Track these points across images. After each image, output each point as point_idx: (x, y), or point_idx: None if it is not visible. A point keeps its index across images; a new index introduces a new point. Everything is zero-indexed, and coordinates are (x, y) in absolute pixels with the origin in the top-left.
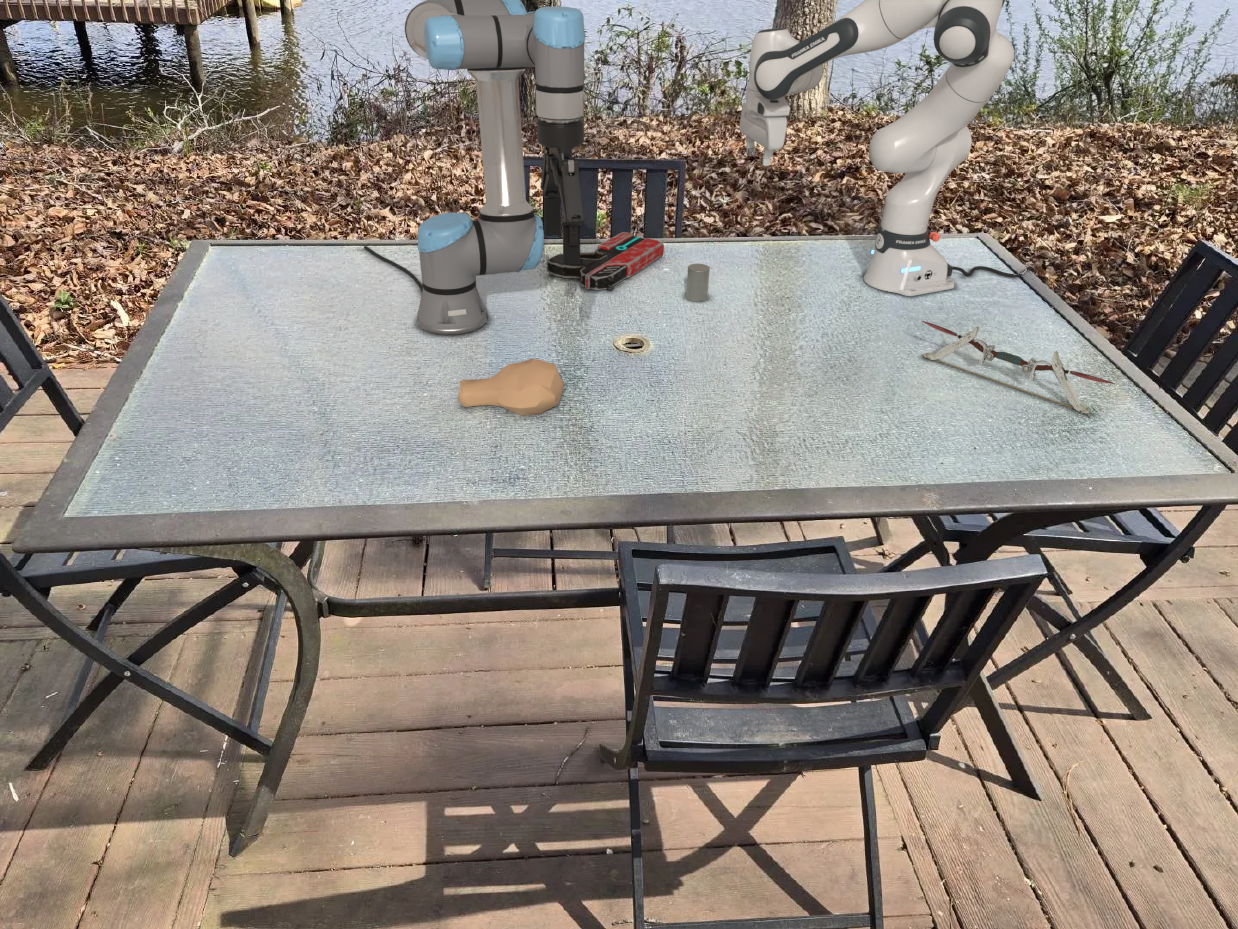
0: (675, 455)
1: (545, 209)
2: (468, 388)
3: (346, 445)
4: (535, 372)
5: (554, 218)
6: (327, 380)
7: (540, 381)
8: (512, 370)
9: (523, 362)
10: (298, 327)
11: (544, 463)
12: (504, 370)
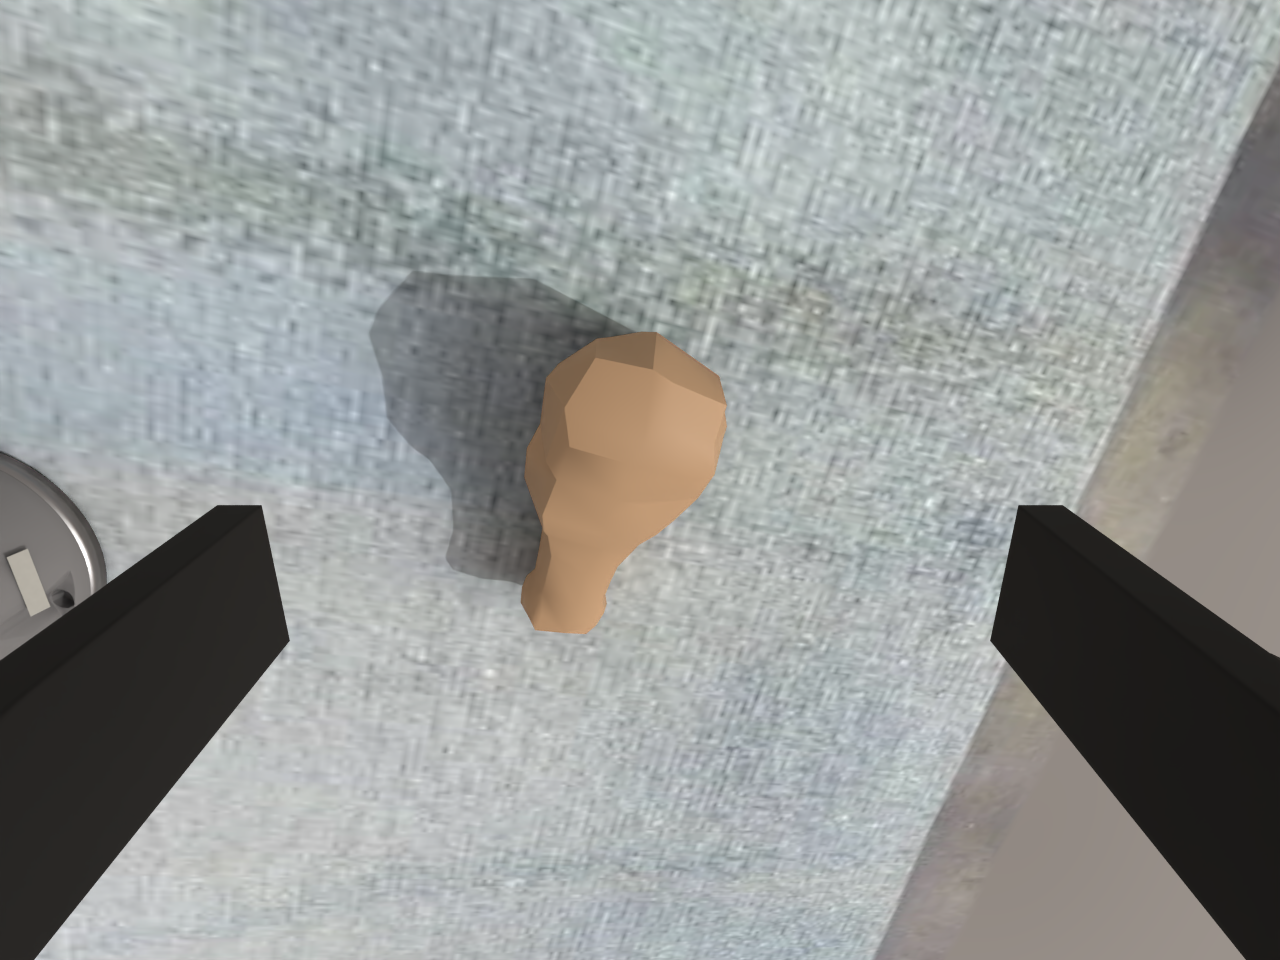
0: (1072, 20)
1: (109, 859)
2: (585, 613)
3: (694, 836)
4: (669, 454)
5: (167, 667)
6: (376, 860)
7: (704, 439)
8: (604, 514)
9: (572, 476)
10: None
11: (938, 446)
12: (569, 528)
